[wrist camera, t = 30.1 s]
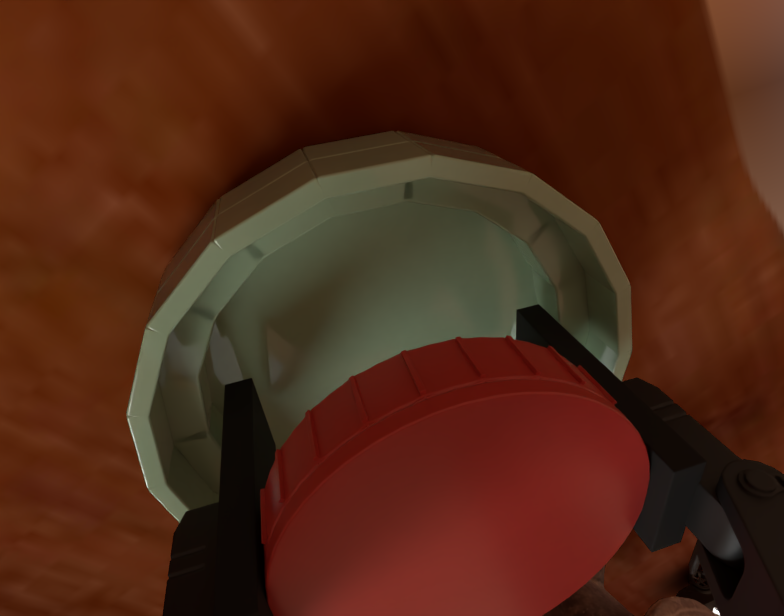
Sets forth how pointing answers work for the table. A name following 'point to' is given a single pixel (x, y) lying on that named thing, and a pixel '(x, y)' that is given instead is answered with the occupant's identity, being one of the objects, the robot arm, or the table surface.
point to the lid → (451, 487)
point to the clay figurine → (603, 612)
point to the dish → (355, 288)
